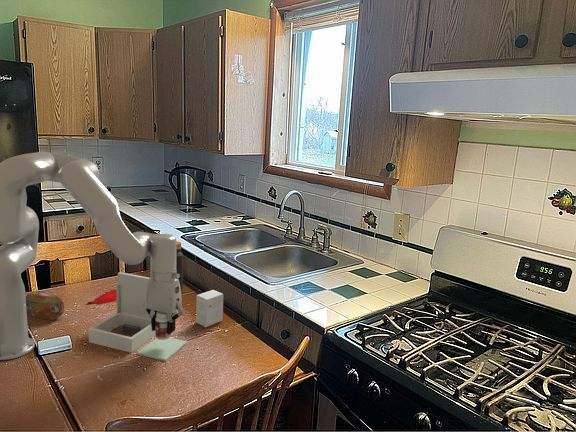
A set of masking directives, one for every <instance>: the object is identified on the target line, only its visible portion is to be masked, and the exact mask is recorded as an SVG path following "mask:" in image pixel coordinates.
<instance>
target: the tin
mask: <svg viewBox="0 0 576 432" xmlns="http://www.w3.org/2000/svg"><path fill="white" fill-rule="evenodd" d="M26 308H27V316H29V317H31V318H36V319H42V320H45V321H46V320H48V321H54V320H55V321H56V319H58V318H60V317H62V315H63V314H64V312H65V311H64V310H65V304H64V301H63V300H62V299H61V297H59V296H57V295H56V294H55V295H54V294H48V293H43V292H42V293H41V292H34V293H29V294H27V295H26Z"/></svg>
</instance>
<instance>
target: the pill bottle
mask: <svg viewBox="0 0 576 432" xmlns="http://www.w3.org/2000/svg"><path fill="white" fill-rule="evenodd" d="M168 322H169V319H168V315H167V313H164V312H160V311H157V317H156V319H155V336H154V337H155V339H156V338H157V339H159V340H166V339H169V338H172V333H171V334H170V335H169V334H167V323H168Z"/></svg>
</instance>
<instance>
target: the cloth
mask: <svg viewBox="0 0 576 432" xmlns="http://www.w3.org/2000/svg"><path fill="white" fill-rule="evenodd" d="M104 293H105V294H104ZM104 293H103V294H101V295H99V296H97V297H96V298H95V299H94V300H91V301H88V302H87V303H86V304H85V306H88V305H89V304H91V303H92V304H99V305H104V304H108V303H115V302H117V289H110V290H108V291H106V292H104Z"/></svg>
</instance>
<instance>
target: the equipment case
mask: <svg viewBox="0 0 576 432" xmlns="http://www.w3.org/2000/svg"><path fill="white" fill-rule="evenodd" d="M149 278H150V277H147V276H143V275H142V276H141V275H138V274H131V273H127V272H123V271H122V272H121V271H120V272H118V273H117V284H116V290H117V301H116V313H114V314H112V315H111V316H109V317H107V318H106V319H103V320H102V321H100V322H98V323H96V324H95V325H93V326H91V327H89V328H88V343H91V344H95V345H99V346H103V347H106V348H107V347H108V348H111V349H114V350H119V351H122V352H123V351H124V352H128V353H131V354H132V353H134V352H135V351H136V350H138V349H139V348H141V347H142V346H143V345H145V344H146V343H148V342H149V341H150V340H152V339H153V338H154V337H155V331H152V326H151V318H150V317H149V314H148V313H147V311H146V310H145V309H144V308H143V307H142V304H143V303H144V301H145V300H146V293H147V285H148V281H149ZM119 327H121V334H119V333H115V332H112V331H113V330H114V329H117V328H119ZM123 333H124V334H127V335H124V334H123ZM128 335H132V336H128Z"/></svg>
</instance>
